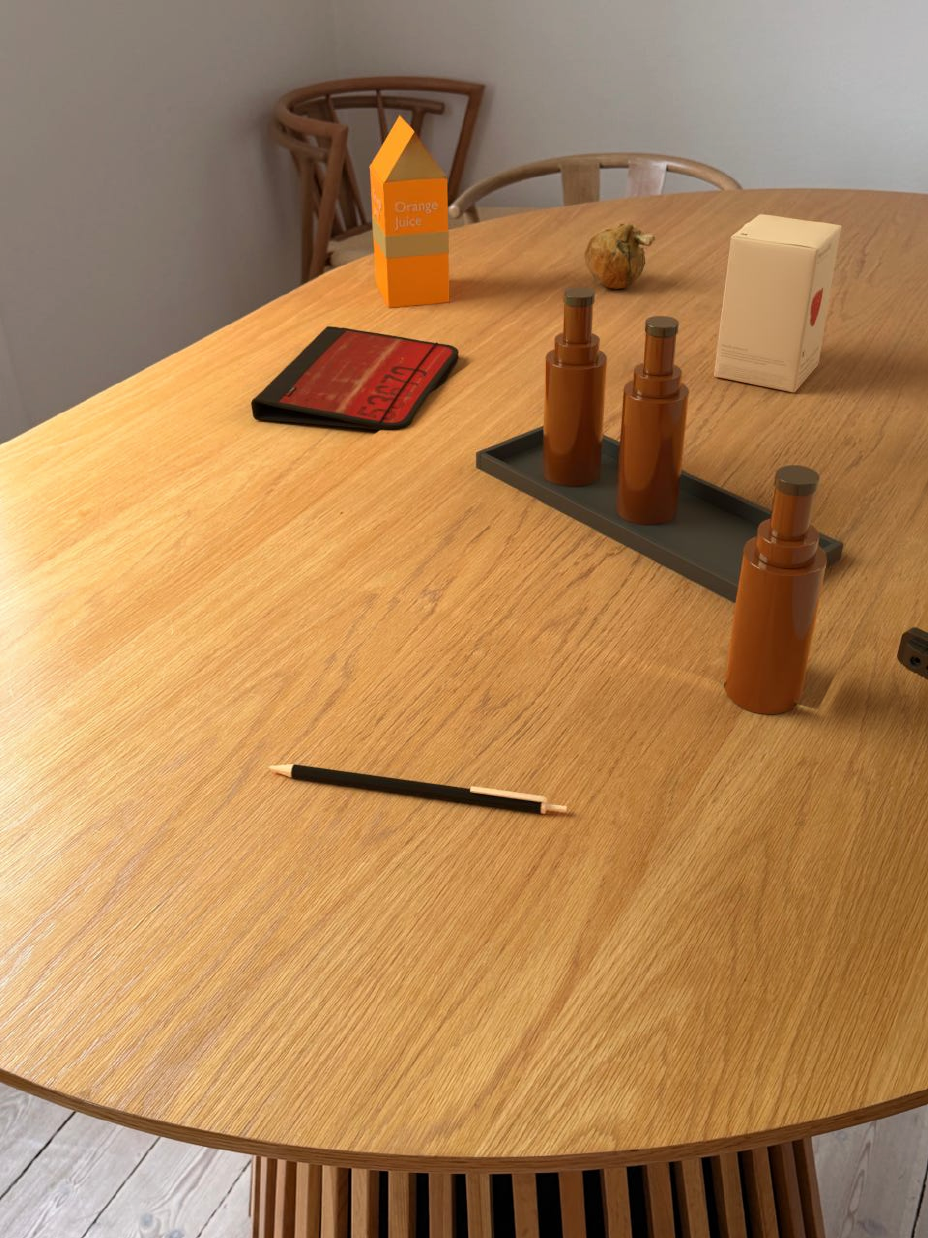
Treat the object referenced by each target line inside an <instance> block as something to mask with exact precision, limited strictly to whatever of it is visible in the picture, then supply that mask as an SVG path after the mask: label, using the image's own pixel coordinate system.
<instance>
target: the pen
mask: <svg viewBox="0 0 928 1238" xmlns="http://www.w3.org/2000/svg"><path fill="white" fill-rule="evenodd" d="M266 769H268V770H270V771H272V772H275V773H277V774H280V775H283V776H286V777H289V778H291V779H297V780H303V781H310V782H317V783H325V784H330V785H331V784H332V785H338V786H339V785H340V786H345V787H346V786H347V787H352V788H353V787H354V788H359V789H366V790H367V789H368V790H374V791H382V792H388V793H394V794H403V795H410V796H417V797H422V798H423V797H424V798H430V799H437V800H438V799H439V800H445V801H450V802H451V801H452V802H458V803H459V802H460V803H465V804H473V805H480V806H486V807H493V808H494V807H495V808H501V809H507V810H513V811H522V812H529V813H537V814H543V815H545V814H546V813H547V811H551V812H559V813H566V814H567V812H568V806H566V805H559V804H552V803H548V797H546V796H544V795H538V794H530V793H523V792H516V791H509V790H503V789H494V788H487V787H482V786H481V787H480V786H474V785H471V786H470V788H468V787H461V786H453V785H446V784H439V783H438V784H437V783H432V782H425V781H417V780H411V779H410V780H409V779H402V778H397V777H389V776H381V775H374V774H368V773H360V772H354V771H353V772H352V771H345V770H340V769H339V770H337V769H331V768H324V767H317V766H311V765H310V766H309V765H303V764H297V763H296V764H295V763H292V764H278V765H270V766H266Z"/></svg>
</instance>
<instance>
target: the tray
mask: <svg viewBox="0 0 928 1238" xmlns="http://www.w3.org/2000/svg"><path fill="white" fill-rule="evenodd" d="M543 427H544V425H541V426H539V427H536V428H534V429H532V430H529V431H526V432H524V433H521V434H518V435H516V436H513V437H511V438H508V439H506V440H504V441H501V442H499V443H496V444H494V445H491V446H489V447H486V448H483V449H481V450H477V451H476V452H475V468H476V469H478V470H480V471H481V472H483V473H485V474H487V475H488V476H491V477H493V478H495V479H496V480H499V481H500V482H502V483H505V484H506V485H508V486H510V487H512V488H514V489H516V490H518V491H519V492H521V493H524V494H526V495H527V496H529V497H531V498H533V499H534V500H537V501H539V502H541V503H543V504H544V505H546V506H548V507H550V508H551V509H554V510H556V511H557V512H560V513H561V514H564V515H565V516H568V517H569V518H571V519H573V520H575V521H577V522H579V523H581V524H583V525H584V526H586V527H588V528H590V529H592V530H594V531H596V532H598V533H600V534H602V535H604V536H606V537H607V538H609V539H611V540H613V541H615V542H616V543H619V544H620V545H623V546H624V547H626V548H628V549H630V550H632V551H633V552H636V553H638V554H639V555H642V556H644V557H645V558H647V559H649V560H650V561H651V560H652V561H653V562H655V563H656V564H658V565H661V566H663V567H665V568H666V569H669V570H671V571H672V572H674V573H676V574H678V575H680V576H681V577H684V578H685V579H687V580H689V581H691V582H693V583H695V584H697V585H699V586H700V587H702V588H704V589H705V590H709V591H711V592H712V593H714V594H716V595H717V596H720V597H721V598H724V599H726V600H727V601H729V602H731V603H733V604H734V605H735V604H736V597H737V589H738V582H739V575H740V568H741V561H742V553H743V548H744V546H745V544H746V543H747V542H748V541H749V540H751V539H752V538H754V537H756V535H757V529H758V526H759V525H760V524H761V523H762V522H763V521H765V520H768V519H770V518H771V512H772V509H769V508H767V507H765V506H762V505H760V504H758V503H756V502H753V501H751V500H749V499H747V498H744V497H742V496H740V495H739V494H736V493H733V492H732V491H729V490H727V489H725V488H723V487H720V486H718V485H716V484H715V483H711V482H710V481H708V480H705V479H704V478H701V477H698V476H695V475H694V474H692V473H690V472H687V471H685V470H683V469H681V479H680V488H679V498H678V508H677V514H676V516H675V517H674V518H673V519H672V520H670V521H668V522H666V523H663V524H657V525H641V524H636V523H632V522H629V521H627V520H625V519H623V518H621V517H620V516H619V515H618V514H617V512H616V509H615V506H616V492H617V477H618V462H619V448H620V440H617V439H615V438H613V437H610V436H608V435H606V434H603V439H602V456H601V473H600V477H599V478H598V480H596V481H595V482H593V483H591V484H589V485H585V486H579V487H567V486H560V485H556V484H554V483H551V482H549V481H548V480H546V479H545V478H544V476H543V474H542V461H543ZM818 533H819V542H818V546H820V547H821V548H822V549H823V551H824V552H825V554H826V557H827V562H826V568H825V570H826V569H827V568H830V567H831V566H832V565H834V564H836V563H838V562H839V561H841V559H842V553H843V549H844V542H842V541H840V540H837V539H835V538H834V537H831V536H829V535H826V534H824V533H822V532H821V531H818Z"/></svg>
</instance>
